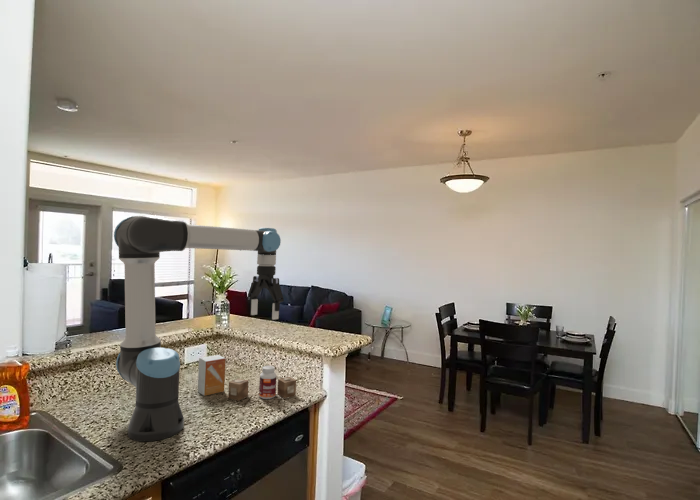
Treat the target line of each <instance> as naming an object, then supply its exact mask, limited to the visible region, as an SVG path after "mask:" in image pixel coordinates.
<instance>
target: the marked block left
mask: <svg viewBox="0 0 700 500" xmlns="http://www.w3.org/2000/svg"><path fill="white" fill-rule="evenodd" d="M227 397H228V399H231V400H234V401H237V402H238V401H239V402H240V401H241V400H244V399H245V398H248V397H249V380H247V379H244V378H238V377H237V378H235V379H233V380H230V381H229V382H228V396H227Z"/></svg>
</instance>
